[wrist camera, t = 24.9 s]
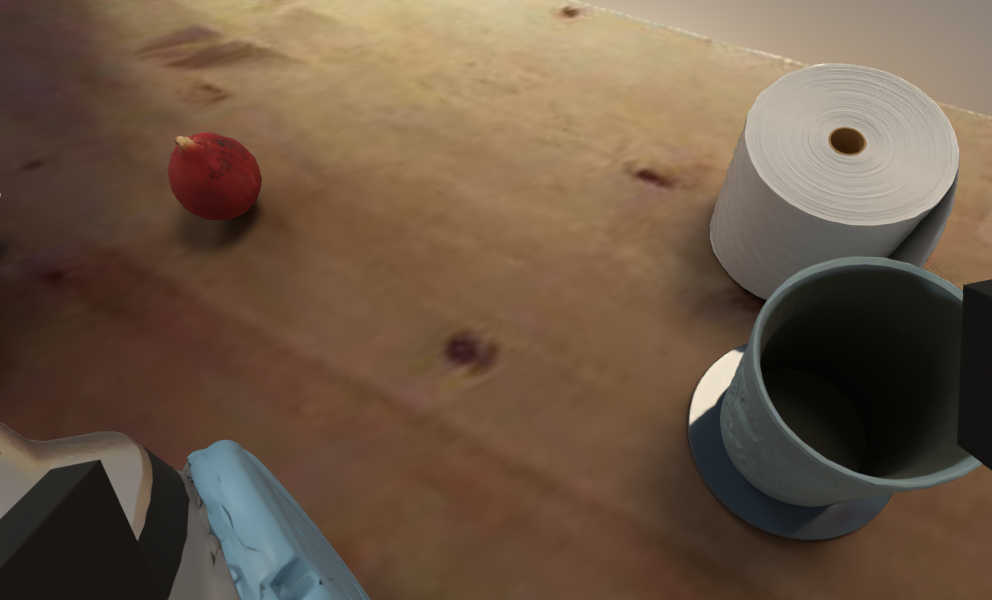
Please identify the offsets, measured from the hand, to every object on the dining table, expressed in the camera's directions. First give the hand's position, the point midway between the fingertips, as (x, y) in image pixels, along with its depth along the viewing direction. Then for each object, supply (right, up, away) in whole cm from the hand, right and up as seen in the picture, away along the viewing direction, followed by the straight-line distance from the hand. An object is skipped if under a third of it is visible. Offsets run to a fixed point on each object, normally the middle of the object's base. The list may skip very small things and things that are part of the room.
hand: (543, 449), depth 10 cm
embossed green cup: (+16, -5, +28) cm, 33 cm away
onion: (-20, +9, +40) cm, 45 cm away
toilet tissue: (+19, +6, +34) cm, 39 cm away
